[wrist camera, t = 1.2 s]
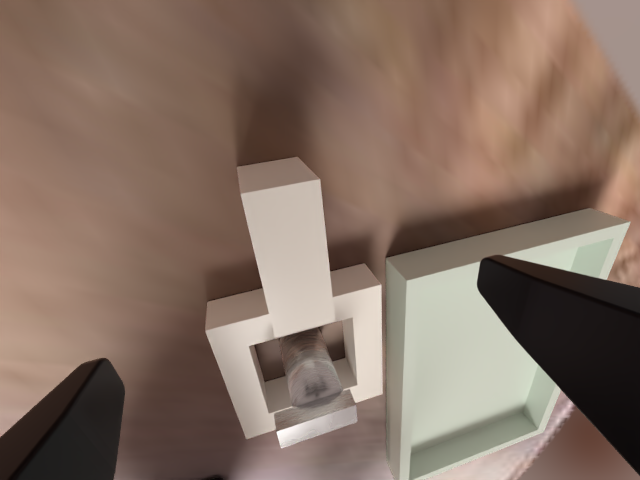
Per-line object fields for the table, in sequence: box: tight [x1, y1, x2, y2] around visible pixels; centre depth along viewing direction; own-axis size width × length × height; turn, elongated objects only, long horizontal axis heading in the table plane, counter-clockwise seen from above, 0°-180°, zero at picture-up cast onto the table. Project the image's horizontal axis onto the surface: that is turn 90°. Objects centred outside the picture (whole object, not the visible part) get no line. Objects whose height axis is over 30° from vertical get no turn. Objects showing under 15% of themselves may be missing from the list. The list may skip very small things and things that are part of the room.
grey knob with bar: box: [274, 327, 357, 448], centre depth 15 cm, size 2×3×5 cm
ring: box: [205, 157, 383, 439], centre depth 14 cm, size 14×8×4 cm, turn 6°
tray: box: [386, 208, 630, 480], centre depth 21 cm, size 20×14×2 cm
